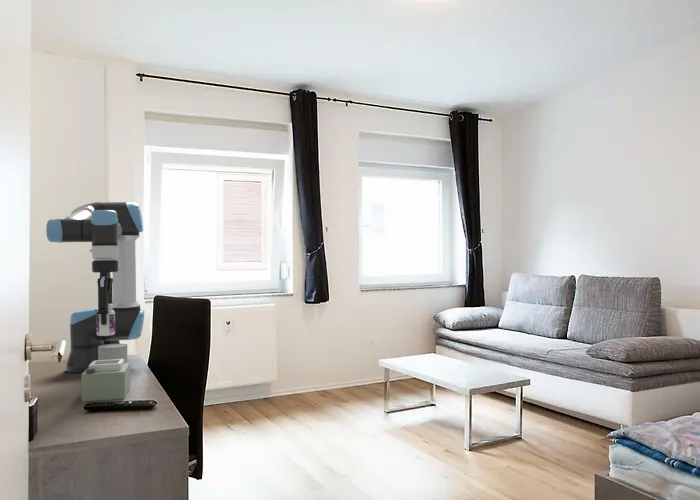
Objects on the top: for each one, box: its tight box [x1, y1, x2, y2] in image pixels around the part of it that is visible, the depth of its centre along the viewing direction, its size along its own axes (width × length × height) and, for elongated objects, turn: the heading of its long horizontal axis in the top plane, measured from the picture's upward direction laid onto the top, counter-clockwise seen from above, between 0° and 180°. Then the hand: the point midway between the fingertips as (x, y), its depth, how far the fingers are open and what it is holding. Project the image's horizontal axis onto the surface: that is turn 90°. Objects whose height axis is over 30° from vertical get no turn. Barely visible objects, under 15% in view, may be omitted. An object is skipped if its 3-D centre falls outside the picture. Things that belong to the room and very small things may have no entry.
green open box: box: [80, 359, 132, 403], centre depth 182 cm, size 16×12×10 cm
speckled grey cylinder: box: [98, 343, 129, 363], centre depth 202 cm, size 10×10×12 cm
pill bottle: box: [96, 304, 115, 336], centre depth 182 cm, size 5×5×10 cm
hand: (106, 334), depth 182 cm, fingers closed on pill bottle, 5 cm apart
